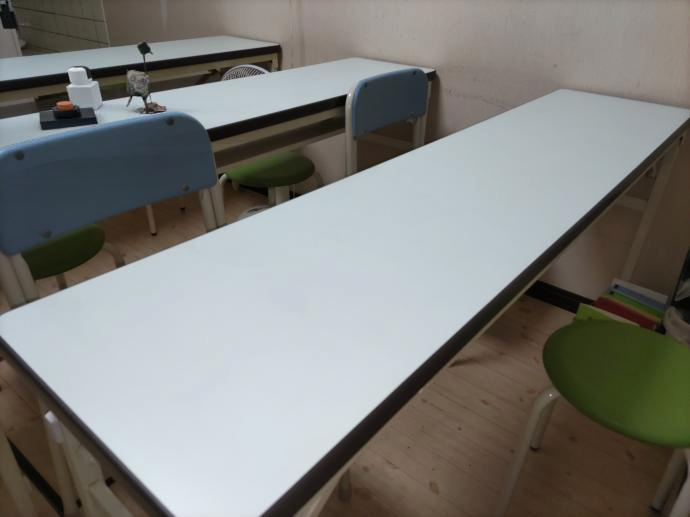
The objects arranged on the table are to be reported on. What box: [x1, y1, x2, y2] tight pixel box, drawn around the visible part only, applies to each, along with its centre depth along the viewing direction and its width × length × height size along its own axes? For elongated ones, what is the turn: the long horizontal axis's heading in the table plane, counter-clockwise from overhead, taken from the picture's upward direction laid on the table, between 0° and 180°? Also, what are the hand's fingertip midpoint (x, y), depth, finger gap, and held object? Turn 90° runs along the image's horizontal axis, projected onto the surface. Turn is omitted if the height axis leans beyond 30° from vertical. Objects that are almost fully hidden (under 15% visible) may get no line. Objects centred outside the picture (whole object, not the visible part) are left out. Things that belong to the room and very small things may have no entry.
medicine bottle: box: [65, 65, 104, 111], centre depth 155 cm, size 7×7×12 cm
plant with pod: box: [125, 40, 167, 115], centre depth 151 cm, size 8×11×20 cm
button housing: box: [38, 105, 99, 131], centre depth 144 cm, size 14×11×4 cm
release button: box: [56, 100, 74, 110], centre depth 142 cm, size 4×4×2 cm
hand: (10, 28), depth 129 cm, fingers closed
